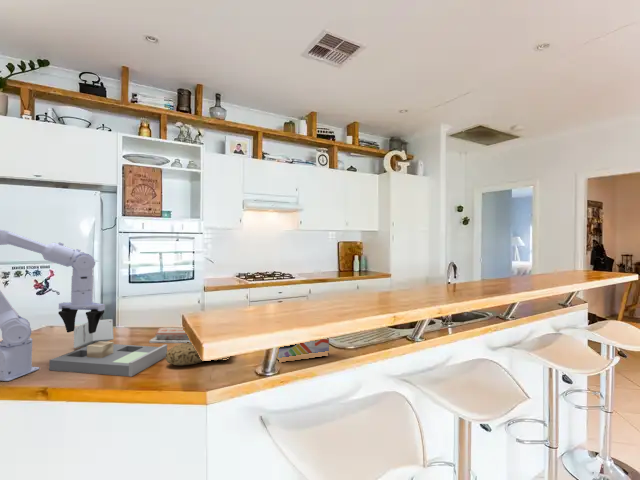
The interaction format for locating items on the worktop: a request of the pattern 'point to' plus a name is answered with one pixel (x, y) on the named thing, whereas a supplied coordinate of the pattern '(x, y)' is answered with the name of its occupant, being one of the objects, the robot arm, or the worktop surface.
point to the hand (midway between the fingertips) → (81, 332)
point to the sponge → (184, 355)
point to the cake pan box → (304, 348)
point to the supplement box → (102, 333)
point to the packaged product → (170, 336)
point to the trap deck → (110, 360)
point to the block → (100, 349)
